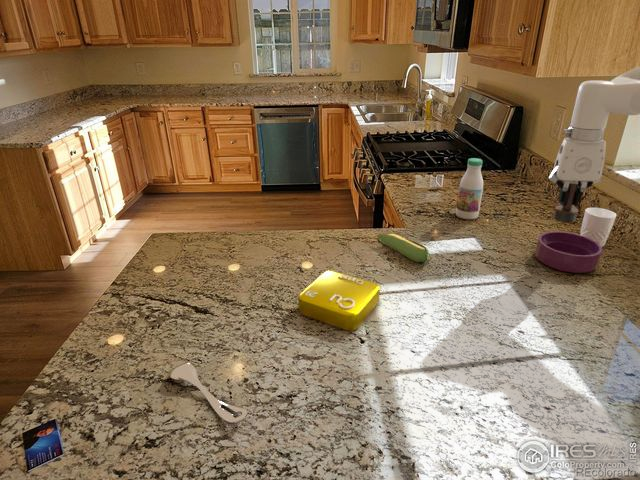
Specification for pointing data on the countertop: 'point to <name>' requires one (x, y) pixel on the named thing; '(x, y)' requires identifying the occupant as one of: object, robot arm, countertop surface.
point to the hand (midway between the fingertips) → (568, 203)
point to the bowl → (568, 251)
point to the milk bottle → (470, 191)
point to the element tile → (339, 300)
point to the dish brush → (567, 206)
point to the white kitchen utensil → (207, 392)
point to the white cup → (597, 224)
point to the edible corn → (405, 247)
